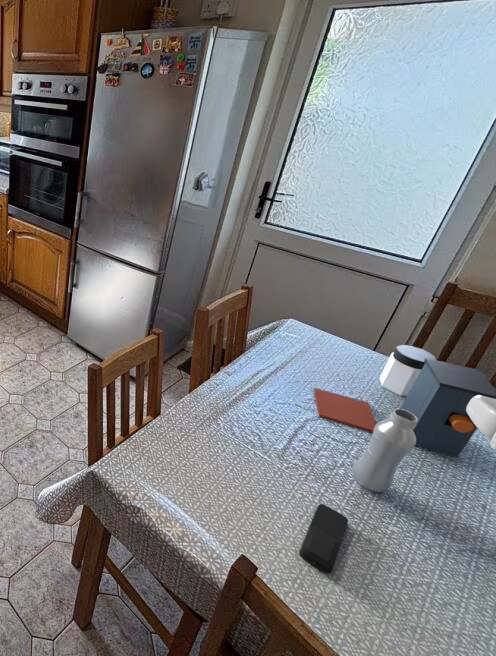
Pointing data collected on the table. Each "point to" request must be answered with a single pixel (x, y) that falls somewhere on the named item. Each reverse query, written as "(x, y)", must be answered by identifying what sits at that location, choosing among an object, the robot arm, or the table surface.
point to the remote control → (324, 538)
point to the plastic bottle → (386, 451)
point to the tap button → (461, 423)
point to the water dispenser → (444, 404)
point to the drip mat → (344, 409)
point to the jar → (403, 369)
